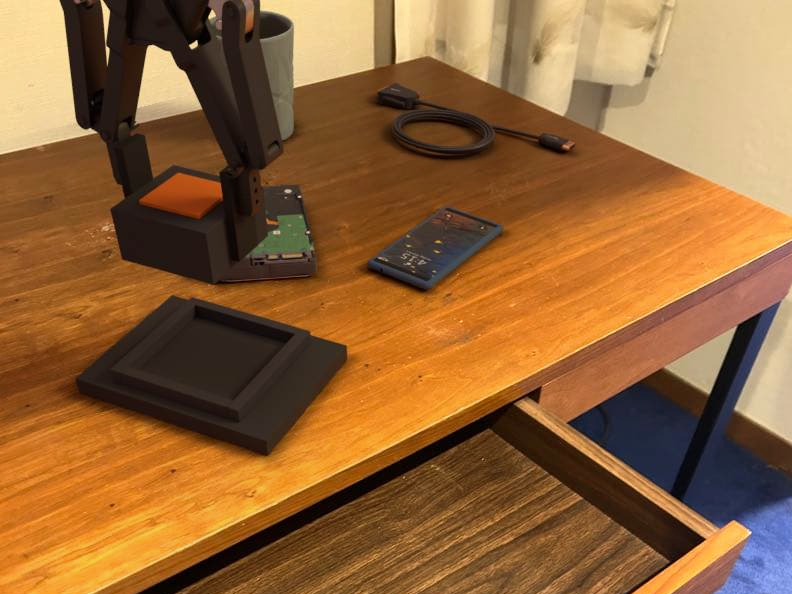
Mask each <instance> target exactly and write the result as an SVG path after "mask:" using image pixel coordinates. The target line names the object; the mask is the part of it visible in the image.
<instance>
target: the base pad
mask: <svg viewBox="0 0 792 594" xmlns="http://www.w3.org/2000/svg"><path fill="white" fill-rule="evenodd" d="M347 361H348V345H346V344H344V343H340V342H335V341H333V340H329V339H325V338H322V337H320V336H319V337H318V336H315V335H312V334H311V331H310V330H308V329H304V328H300V327H297V326H294V325H292V324H289V323H288V324H287V323H285V322H280V321H277V320H274V319H271V318H267V317H263V316H260V315H256V314H253V313H248V312H247V311H242V310H239V309H236V308H232V307H228V306H224V305H222V304H218V303H214V302H211V301H208V300H204V299H200V298H198V297H194V296H190V298H189V299H188V298H185V297H181V296H177V295H174V294H171V295H170V296H169V297H168V298H167V299H165V301H163V302H162V303H161V304H160V305H158V306H157V307H156V308H155V309H154V310H153V311H152V312H150V314H148V315H147V316H145V317H144V318H143V319H142V320H141V321H140V322H139V323H137V324H136V325H135V326H134V327H133V328H132V329H131V330H130V331H128V332H127V333H125V334H124V336H122V337H121V338H120V339H119V340H118V341H117V342H116V343H114V344H113V345H112V346H111V347H110V348H108V349H107V350H106V351H105V352H104V353H103V354H102V355H100V356H99V357H98V358H97V359H96V360H94V361H93V362H92V363H91V364H89V365H88V366H87V367H86V368H85V369H84V370H83V371H81V373H79V374H78V375H77V376H76V377H75V378H74V379H75V383H76V387H77V389H78V392H79V393H80V394H83V395H85V396H89V397H92V398H94V399H98V400H101V401H104V402H106V403H109V404H113V405H116V406H118V407H122V408H124V409H127V410H130V411H134V412H137V413H139V414H143V415H145V416H149V417H152V418H154V419H157V420H161V421H163V422H167V423H169V424H173V425H175V426H179V427H182V428H185V429H188V430H191V431H192V432H193V431H194V432H195V433H196V432H197V433H198V434H199V433H200V434H203V435H205V436H208V437H211V438H214V439H218V440H221V441H223V442H227V443H230V444H232V445H236V446H238V447H242V448H245V449H248V450H251V451H253V452H257V453H259V454H263V455H266V456H269V455H270V454H271V453H272V451H274V449H275V448H276V447H277V446H278V444H279V443H280V442H281V440H283V438H284V437H285V436H286V435H287V434H288V432H289V431H290V430H291V428H292V427H293V426H294V425H295V424H296V422H297V421H298V420H299V419H300V418H301V417H302V415H303V414H304V413H305V412H306V410H307V409H308V408H309V407H310V406H311V404H312V403H313V402H314V401H315V399H316V398H317V397H318V396H319V395H320V393H321V392H322V391H323V389H325V387H326V386H327V385H328V384H329V382H330V381H331V380H332V379H333V377H335V375H336V374H337V373H338V372H339V370H340V369H341V368H342V367H343V365H345V363H346V362H347Z"/></svg>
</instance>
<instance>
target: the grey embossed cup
mask: <svg viewBox="0 0 792 594" xmlns="http://www.w3.org/2000/svg"><path fill="white" fill-rule="evenodd" d="M209 20H210V23H211V25H212V27H213V30H214V32H215V34H216V37H217V39H218V41H219V44H220V52H219V55H220V58H221V60H222V62H223V65H224V67H225V69H226V72H227V74H228V76H229V78H230V75H229V71H228V67H227V63H226V59H225V55H224V50H223V44H222V31H219V30H217V28H216V26H215V22H216V20H217V18H216V15H215V16H212V17H211V18H209ZM259 37H260V42H261V47H262V51H263V56H264V60H265V65H266V69H267V74H268V79H269V83H270V88H271V92H272V97H273V101H274V106H275V111H276V115H277V120H278V124H279V129H280V133H281V138H282V141H285V140H287V139H288V138H290V137H291V136H292V135H293V132H294V127H295V116H294V115H295V113H294V110H293V109H294V108H293V106H294V103H295V101H294V96H295V93H294V87H295V85H294V83H295V81H294V43H295V42H294V37H295V24H294V22H293V21H292V19H290V17H288V16H286V15H284V14H281V13H278V12H274V11H269V10H261V9H260V20H259ZM230 81H231V79H230Z"/></svg>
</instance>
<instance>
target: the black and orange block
mask: <svg viewBox="0 0 792 594" xmlns="http://www.w3.org/2000/svg"><path fill="white" fill-rule="evenodd" d="M261 192H262V194H261V195H262V202H263V203H262V206H261V209H260V210H259V211H257V212H256V213H255V220H256V229H257V239H258V244H260V243H261V242H262V241H263V240H264V239H265V238H266V237H267V236H268V229H267V219H266V208H265V198H264V188H263V185H261ZM109 210H110V214H111V215H110V216H111V219H112V222H113V227H114V231H115V236H116V241H117V244H118V248H119V253H120V257H121V260H122V261H125V262H130V263H133V264H136V265H140V266H144V267H147V268H151V269H155V270H158V271H162V272H165V273H169V274H173V275H176V276H180V277H183V278H188V279H191V280H193V281H194V280H195V281H197V282H202V283H206V284H210V285H215V284H217V282H219V281H218V280H219V279H221V278H222V277H223V276H224V275H225V274H226V273H227V272H228V271H229V270H231V269H232V268H233V267H234V266H235V265H236V264H237V263H238V261H235V260H231V254H230V247H229V239H228V231H227V224H226V218H225V212H224V204H223V197H222V189H221V182H220V175H217V174H213V173H209V172H205V171H200V170H195V169H193V168H188V167H183V166H180V165H175V164H172V165H171V166H170V167H168V168H167V169H165V170H163V171H162V172H161V173H160V174H158V175H157V176H155V177H153V180H151V181H150V182H148V183H147V184H145V185H144V186H142V187H141V188H140V189H138V190H137V191H135V192H134V193H132V194H131V195H129V196H128V197H127V198H125V197H124V199H122V200H121V201H119V202H118V203H116V204H114V205H113V206H112V207H111V208H110V209H109Z"/></svg>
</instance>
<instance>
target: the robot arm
mask: <svg viewBox="0 0 792 594" xmlns="http://www.w3.org/2000/svg"><path fill="white" fill-rule="evenodd" d="M58 1H59V3H60V7H61V9H62V13H63V20H64V29H65V39H66V47H67V54H68V64H69V73H70V81H71V89H72V90H71V91H72V99H73V100H72V101H73V107H74V116H75V121H76V124H77V125H78V126H79V127H80V129H82V130H84V131H85V130H86V131H87V130H89V129H90V130H92V131H94V132H96V133H97V134H98V135H99V137H100V139H101V140H102V141H103V142H104V143H105V144H106V149H107V153H108V154H107V155H108V158H109V162H110V166H111V171H112V175H113V179H114V180H115V182H116V184H117V185H119V186H121V188H122V193H123V198H124V199H125V198H127V197H128V196H129V195H131V194H132V193H134V192H135V191H137V190H138V189H140V188H141V187H142V186H144V185H145V184H147V183H148V182H150V181H151V180H153V179H154V175H153V170H152V164H151V160H150V153H149V149H148V144H147V138H146V135H145V134H142V133H138V132H136V133H134V134H132V133H131V132H133V131H134V130H136V129H137V128H139V127H140V125H141V123H138V122H137V121H136V116H137V113H138V112H137V111H138V105H139V99H140V93H141V88H142V81H143V76H144V70H145V63H146V57H147V51H148V48H149V47H150V46H154V47H156V48H158V49H160V50H162V51H165V52H169V53H170V55H171V57H172V59H173V61H174V63H175V65H176V67H177V68H178V70H181V71H183V72H184V73H185V75H186V77H187V80H188V81H189V83H190V85H191V88H192V90H193V92H194V94H195V96H196V99H197V100H198V103H199V105H200V107H201V110H202V112H203V114H204V116H205V118H206V120H207V122H208V125H209V127H210V129H211V131H212V134H213V135H214V138H215V140H216V142H217V144H218V146H219V148H220V150H221V154H223V157H224V159H225V162H226V163H227V166H226V167H224V168H223V169H222V170H221V171H219V172H218V173H219V174H218V176H220V182H221V189H222V197H223V204H224V212H225V218H226V224H227V231H228V239H229V247H230V254H231V260H235V261H238V262H240V261H241V260H242V259H243V258H245V257H246V256H247V255H248V254H249V253H250V252H251V251H252V250H253V249H255V248H256V247H257V246H258V239H257V229H256V220H255V213H256V212H257V211H259V210H260V209H261V206H262V203H263V202H262V195H261V194H262V192H261V186H262V183H261V182H262V181H261V172H260V171H263V170H265V169H266V168H267V167H269V166H270V165H271V164H272V163H273V162H275V161H276V160H278V158H280V157H281V156H282V155H283V153H284V151H285V150H284V149H285V148H284V147H285V146H284V143H283V140H282V138H281V133H280V129H279V124H278V120H277V115H276V111H275V106H274V101H273V97H272V92H271V88H270V83H269V79H268V74H267V69H266V65H265V60H264V56H263V51H262V47H261V42H260V37H259V20H260V10H261V0H58ZM102 2H103V3H104V4H105V6H106V8H107V9H108V11H109V17H108V24H107V30H106V31H107V32H106V31H105V21H104V19H105V18H104V10H103V5H102ZM212 11H213V13H214V15H215V16H216V18H217V20H216V22H215V26H216V28H217V30H219V31H222V44H223V50H224V55H225V59H226V63H227V67H228V71H229V75H230V78H229V76H228V74H227V72H226V69H225V67H224V65H223V62H222V60H221V58H220V55H219V52H220V44H219V41H218V39H217V37H216V34H215V32H214V30H213V27H212V25H211V23H210V20H209V19H210V18H209V17H210V15H211V12H212ZM196 42H197V44H196V46H195V47H194V48H192V47H191V45H193V44H194V43H196ZM107 48H108V49H109V50H108V55H107ZM107 57H108V58H107ZM230 79H231V81H230Z"/></svg>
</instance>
